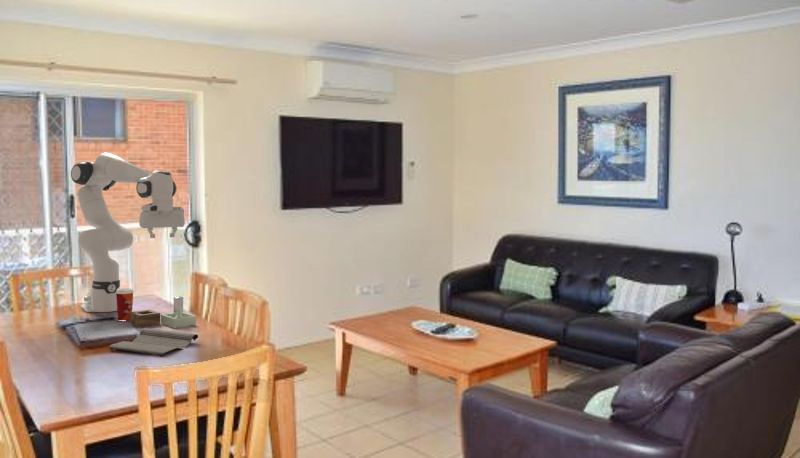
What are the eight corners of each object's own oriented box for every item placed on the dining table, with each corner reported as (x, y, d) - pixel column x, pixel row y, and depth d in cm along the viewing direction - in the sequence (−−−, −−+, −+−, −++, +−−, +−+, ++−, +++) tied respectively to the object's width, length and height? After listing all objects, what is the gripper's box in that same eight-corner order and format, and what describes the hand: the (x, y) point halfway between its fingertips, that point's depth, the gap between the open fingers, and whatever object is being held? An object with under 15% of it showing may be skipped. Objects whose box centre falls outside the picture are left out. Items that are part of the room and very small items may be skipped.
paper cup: (129, 322, 292) (129, 291, 291) (112, 322, 292) (112, 290, 291) (137, 318, 300) (137, 288, 299) (120, 318, 300) (120, 287, 299)
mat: (107, 353, 244) (107, 340, 244) (146, 338, 267) (147, 327, 267) (163, 359, 239) (163, 346, 238) (198, 344, 262) (198, 332, 261)
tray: (160, 323, 292) (160, 314, 292) (181, 320, 300) (181, 311, 299) (174, 328, 284) (174, 319, 284) (195, 325, 292) (195, 316, 291)
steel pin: (171, 321, 292) (172, 297, 291) (180, 320, 295) (180, 296, 294) (176, 323, 289) (176, 298, 288) (184, 322, 292) (185, 297, 291)
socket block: (130, 323, 290) (130, 312, 290) (150, 320, 297) (150, 309, 297) (139, 327, 284) (139, 315, 284) (160, 324, 291) (160, 312, 291)
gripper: (180, 206, 308) (180, 236, 309) (137, 206, 293) (137, 237, 294) (187, 207, 303) (187, 237, 304) (144, 207, 288) (144, 239, 289)
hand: (162, 237), depth 299 cm, fingers open, 8 cm apart
